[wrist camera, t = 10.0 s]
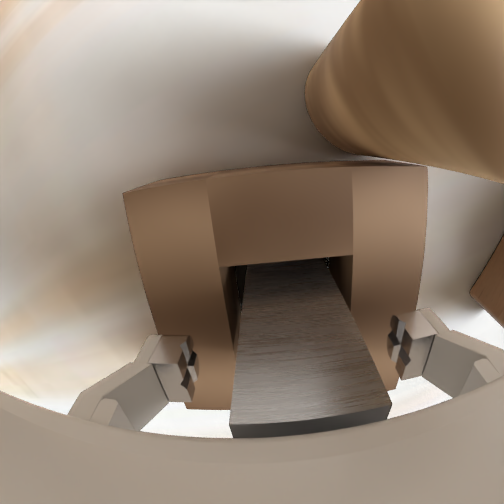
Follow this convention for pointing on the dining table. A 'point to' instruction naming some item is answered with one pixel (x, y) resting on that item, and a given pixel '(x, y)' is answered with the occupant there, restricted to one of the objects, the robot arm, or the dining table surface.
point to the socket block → (278, 250)
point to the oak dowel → (416, 84)
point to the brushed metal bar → (301, 356)
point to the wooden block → (492, 286)
